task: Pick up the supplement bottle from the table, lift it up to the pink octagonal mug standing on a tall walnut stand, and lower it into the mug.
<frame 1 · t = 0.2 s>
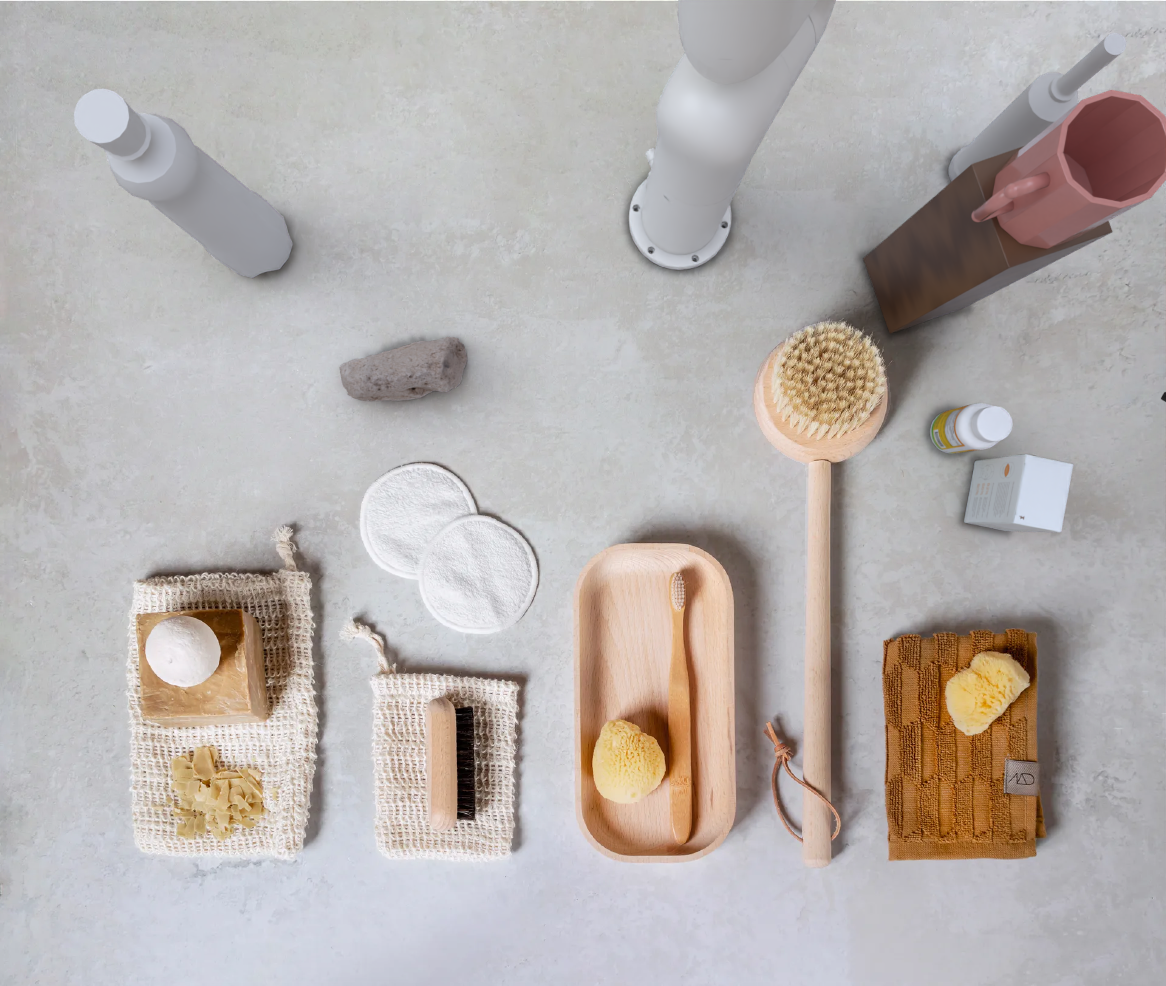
bottle: (261, 246, 90), on the countertop
pink octagonal mug: (1042, 197, 65), resting on stand
pumice stone: (408, 373, 90), on the countertop
bottle 2: (966, 171, 91), on the countertop
supplement bottle: (949, 432, 90), on the countertop
stand: (913, 282, 90), on the countertop
small box: (988, 495, 90), on the countertop
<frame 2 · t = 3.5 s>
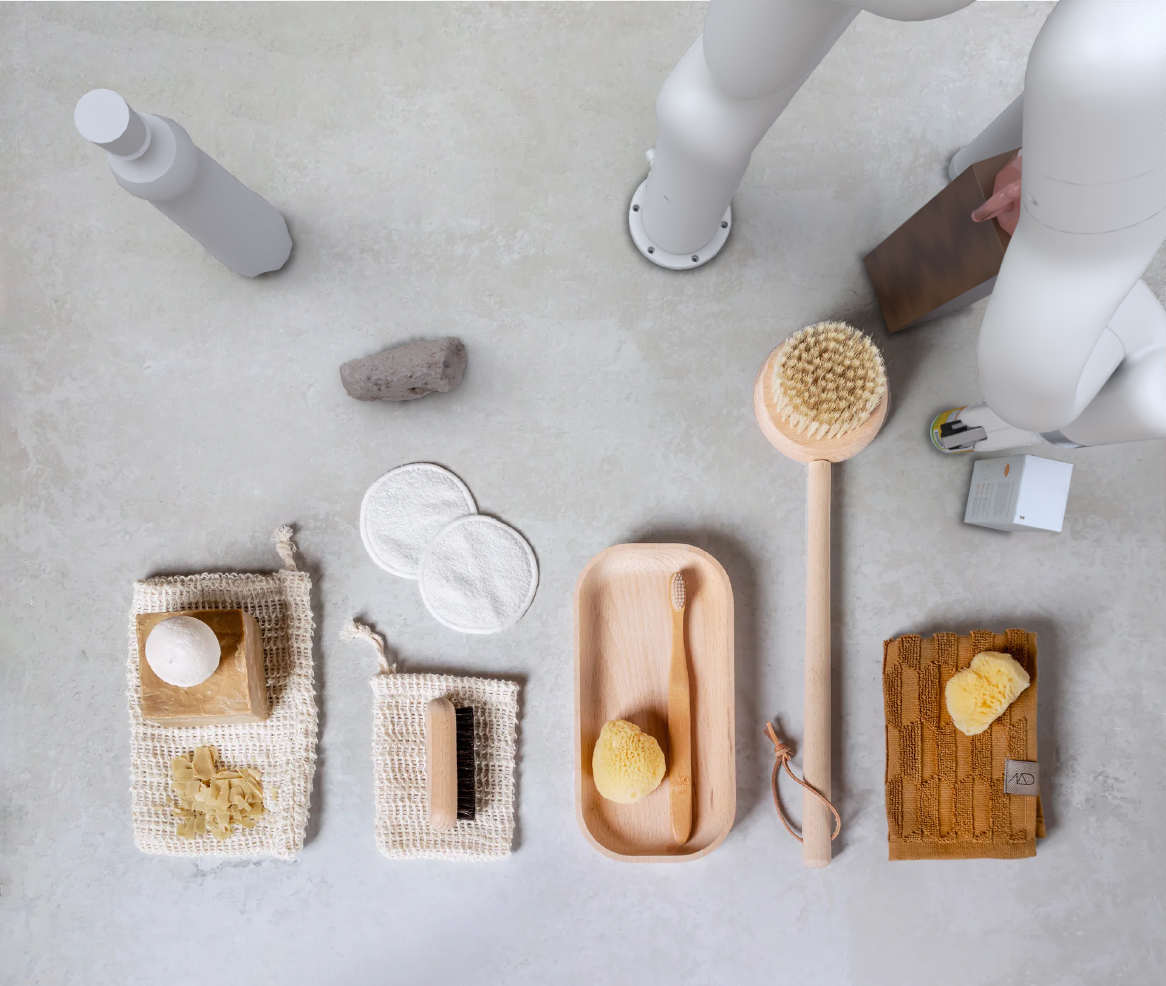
hand: (971, 428, 85), 5 cm above the countertop, tool pointing down, fingers closed on supplement bottle, 5 cm apart
supplement bottle: (949, 432, 90), on the countertop, touching gripper
everything else where it was.
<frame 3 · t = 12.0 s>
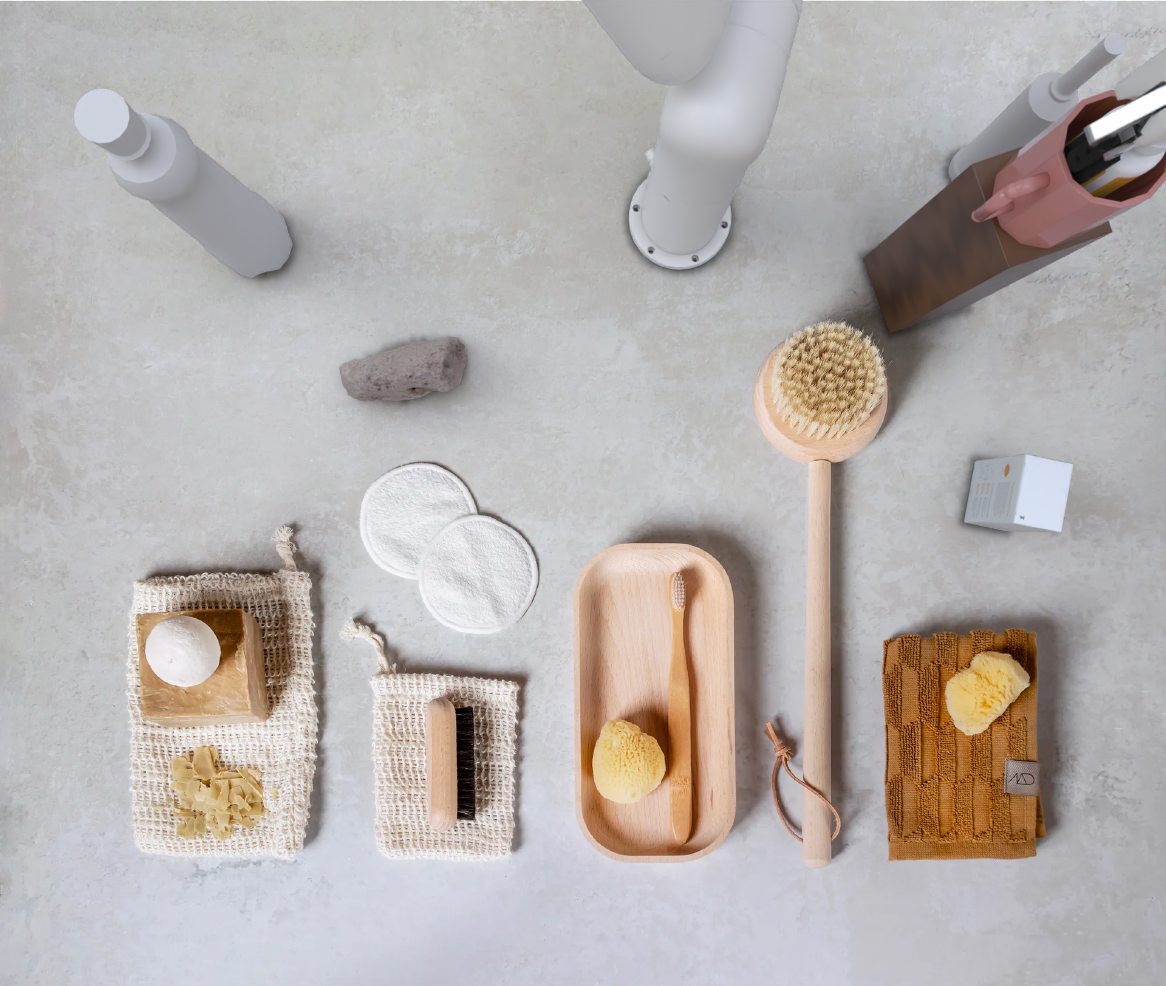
hand: (1111, 151, 57), 33 cm above the countertop, tool pointing down, fingers closed on supplement bottle, 5 cm apart
supplement bottle: (1067, 181, 62), point 28 cm above the countertop, touching gripper
everything else where it was.
when the fingers open (35 cm above the countertop, at t = 21.3 s): supplement bottle drops 5 cm, resting on pink octagonal mug.
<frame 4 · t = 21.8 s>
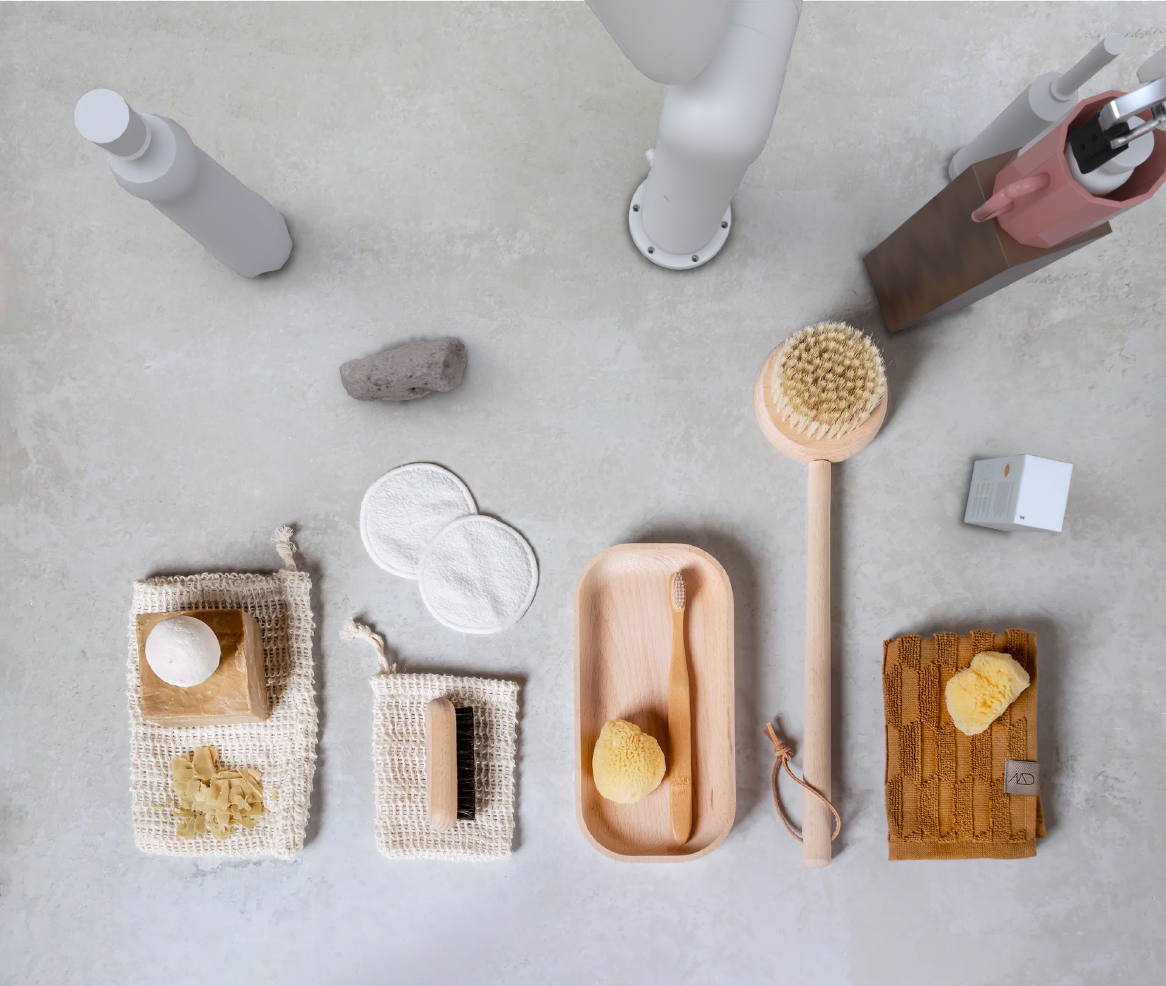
hand: (1139, 133, 54), 36 cm above the countertop, tool pointing down, fingers open, 9 cm apart
supplement bottle: (1044, 195, 65), point 25 cm above the countertop, touching pink octagonal mug
everything else where it was.
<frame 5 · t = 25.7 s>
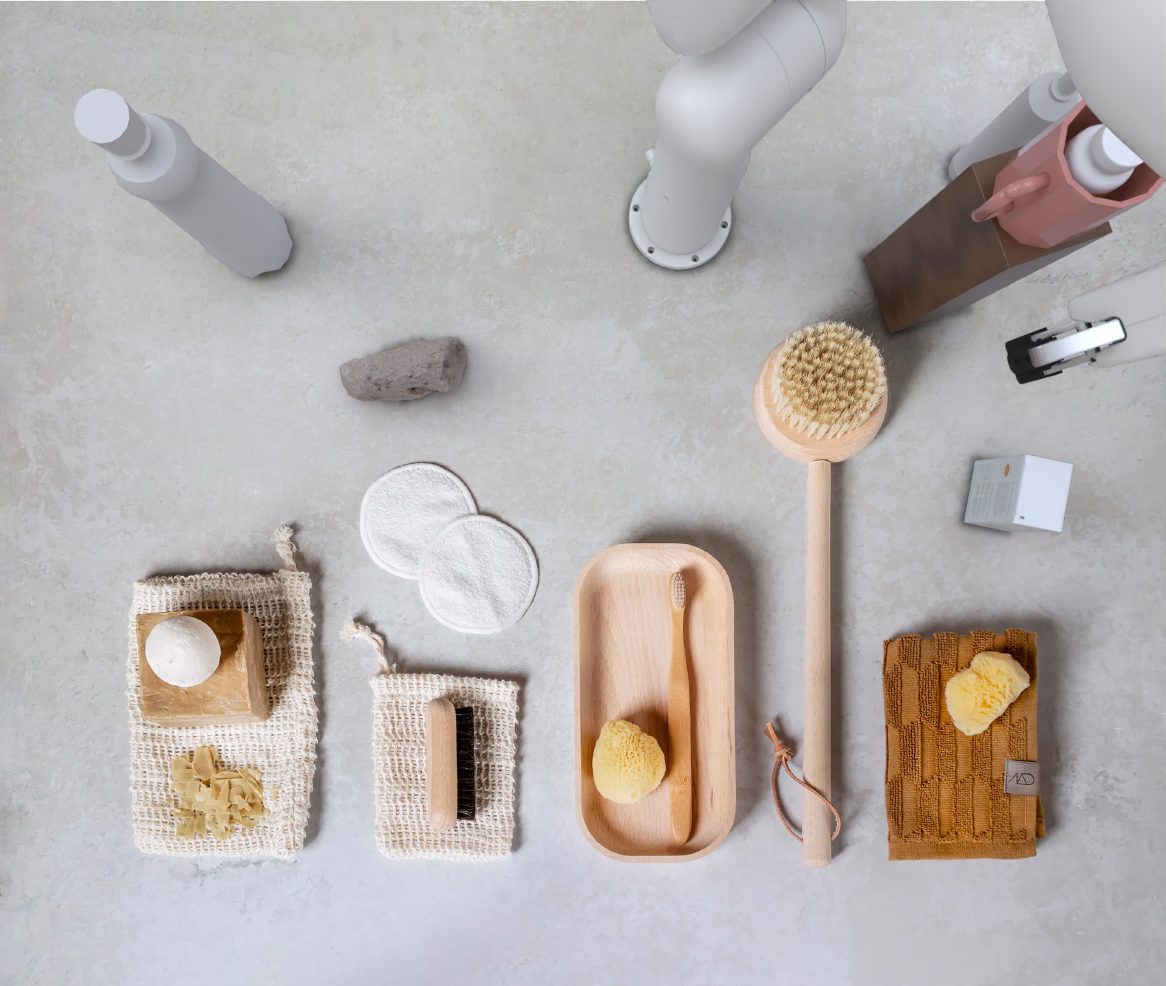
hand: (1079, 340, 52), 38 cm above the countertop, tool pointing down, fingers open, 9 cm apart
nothing on the countertop moved.
at the end: supplement bottle 0.0 cm off-centre on the pink octagonal mug, point 0.4 cm above the pink octagonal mug's base; supplement bottle tilted 0°; the gripper is holding nothing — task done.
